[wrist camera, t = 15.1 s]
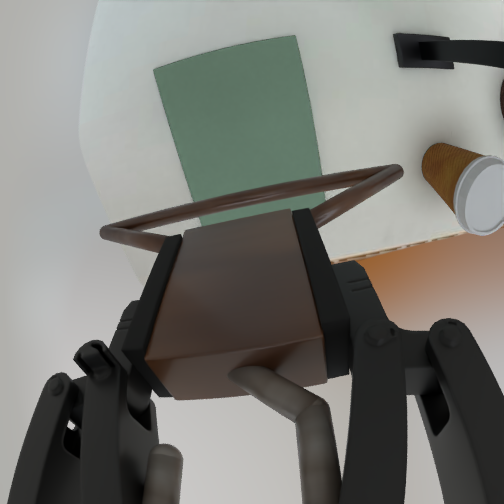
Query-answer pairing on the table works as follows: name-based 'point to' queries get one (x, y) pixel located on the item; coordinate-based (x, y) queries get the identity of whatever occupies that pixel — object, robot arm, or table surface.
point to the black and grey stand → (446, 51)
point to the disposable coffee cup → (468, 186)
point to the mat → (242, 123)
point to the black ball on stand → (502, 99)
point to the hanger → (247, 318)
